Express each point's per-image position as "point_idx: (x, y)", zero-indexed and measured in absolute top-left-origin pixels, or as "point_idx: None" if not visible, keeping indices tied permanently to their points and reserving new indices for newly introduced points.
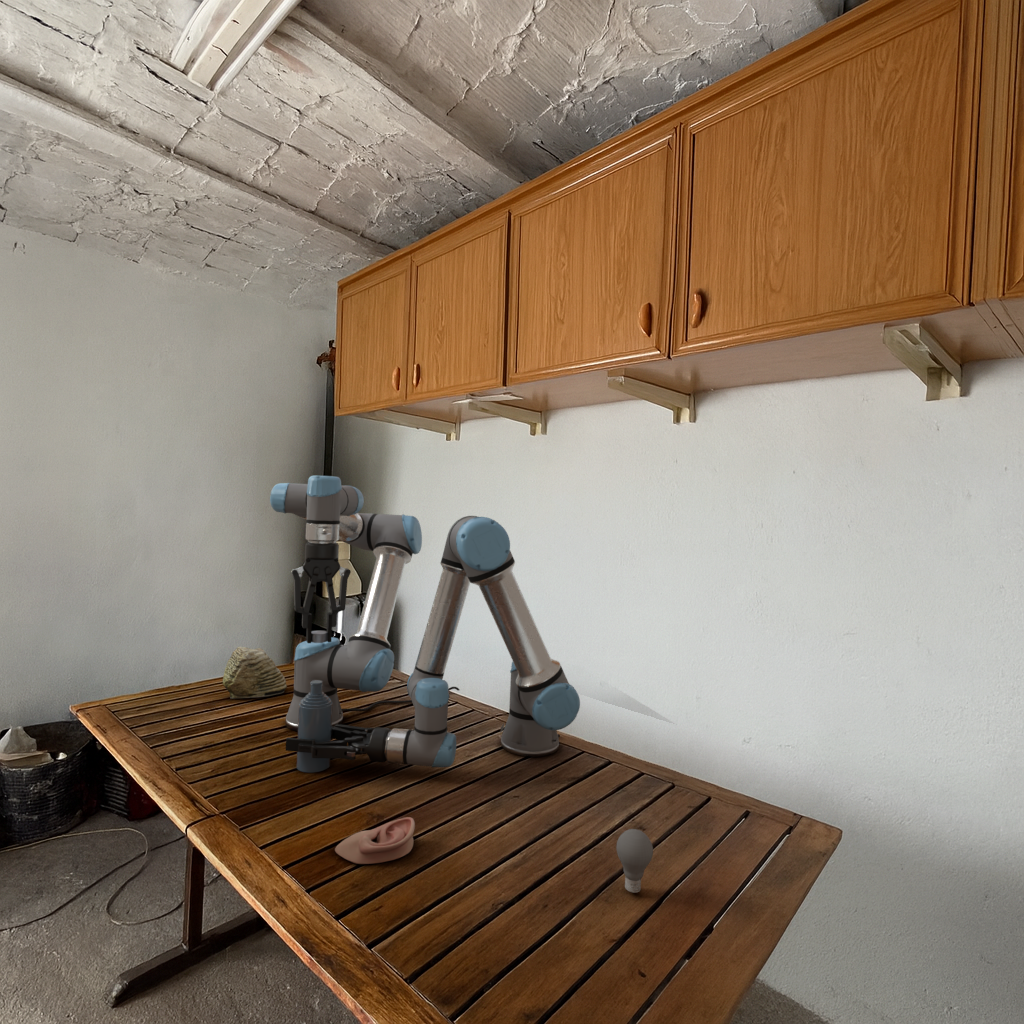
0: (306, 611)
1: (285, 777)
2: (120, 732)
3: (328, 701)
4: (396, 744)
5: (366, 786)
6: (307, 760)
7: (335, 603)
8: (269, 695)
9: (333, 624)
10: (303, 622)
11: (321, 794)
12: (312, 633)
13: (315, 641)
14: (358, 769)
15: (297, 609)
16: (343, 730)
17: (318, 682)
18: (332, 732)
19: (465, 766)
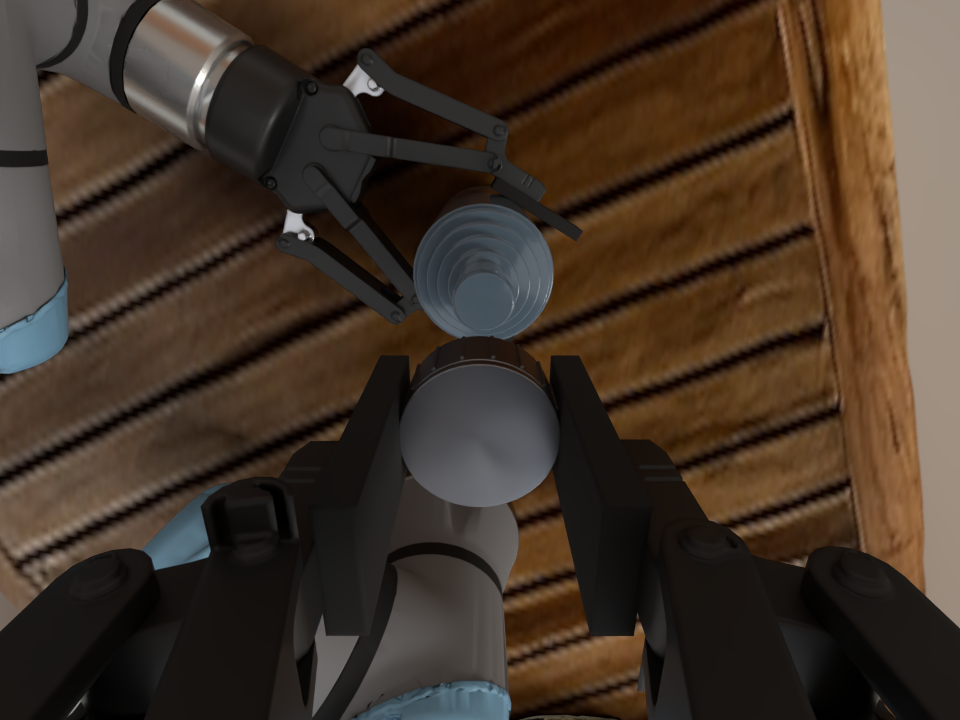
0: (708, 548)
1: (568, 179)
2: None
3: (431, 251)
4: (197, 14)
5: (348, 22)
6: None
7: (179, 659)
8: (531, 717)
9: (326, 455)
10: (673, 476)
11: (487, 12)
12: (548, 403)
13: (517, 347)
14: None
15: (881, 575)
16: (382, 256)
17: (476, 284)
18: None
19: None
